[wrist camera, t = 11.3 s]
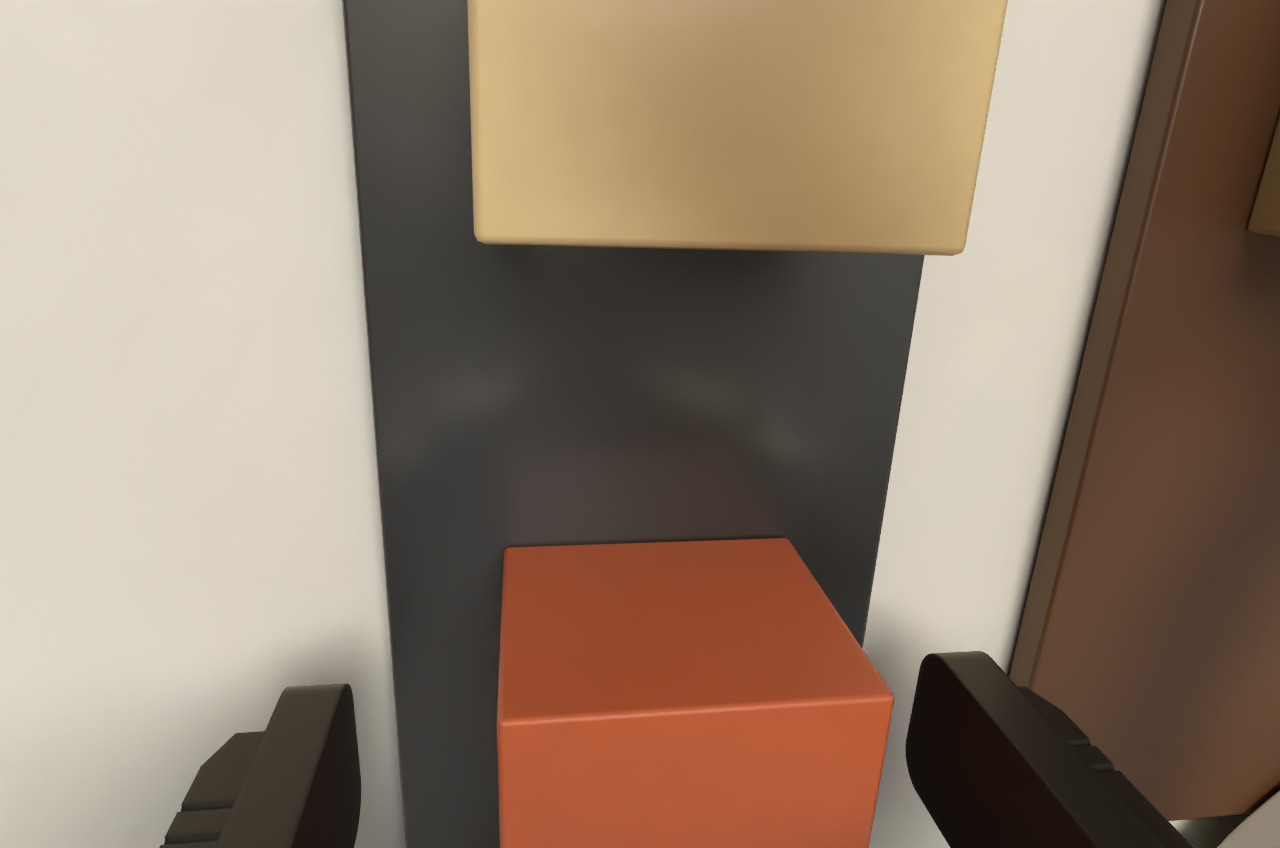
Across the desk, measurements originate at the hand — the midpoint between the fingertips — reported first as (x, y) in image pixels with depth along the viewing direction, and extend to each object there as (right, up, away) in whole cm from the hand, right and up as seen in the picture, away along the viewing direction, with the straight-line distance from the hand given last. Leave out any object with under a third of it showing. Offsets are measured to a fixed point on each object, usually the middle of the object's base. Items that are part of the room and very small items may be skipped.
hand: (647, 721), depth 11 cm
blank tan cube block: (0, +8, -2) cm, 9 cm away
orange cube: (0, +1, +1) cm, 1 cm away
